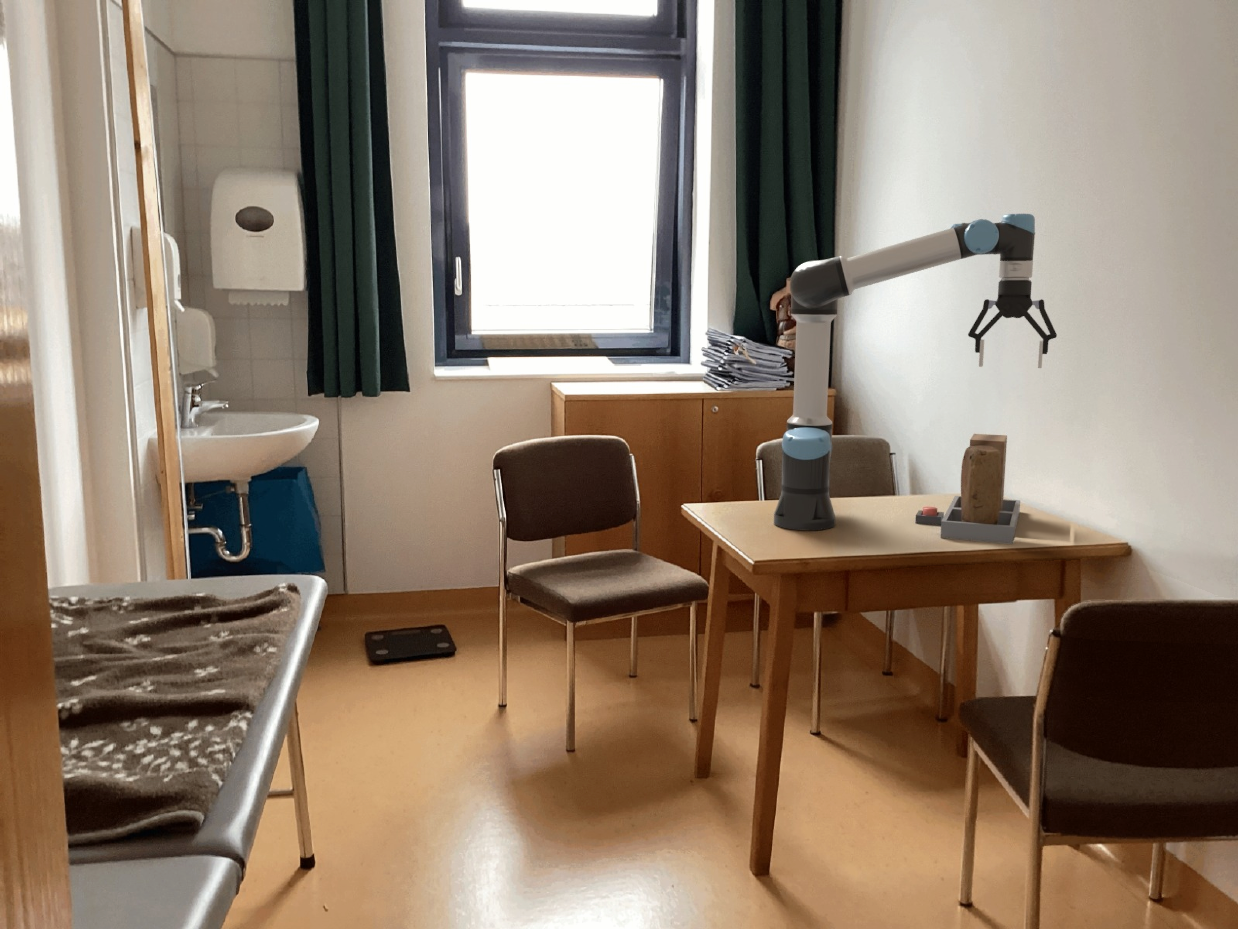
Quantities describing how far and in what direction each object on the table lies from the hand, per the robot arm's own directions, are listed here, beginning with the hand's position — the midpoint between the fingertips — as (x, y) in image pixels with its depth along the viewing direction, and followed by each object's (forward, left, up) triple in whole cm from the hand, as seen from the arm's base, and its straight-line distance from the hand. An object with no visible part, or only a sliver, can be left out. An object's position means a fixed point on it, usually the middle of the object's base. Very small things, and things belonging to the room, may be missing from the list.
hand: (1010, 367), depth 257 cm
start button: (-16, -12, -38) cm, 43 cm away
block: (-4, -16, -38) cm, 41 cm away
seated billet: (-4, 0, -38) cm, 38 cm away
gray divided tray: (-4, -8, -39) cm, 40 cm away
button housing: (-16, -12, -39) cm, 44 cm away
